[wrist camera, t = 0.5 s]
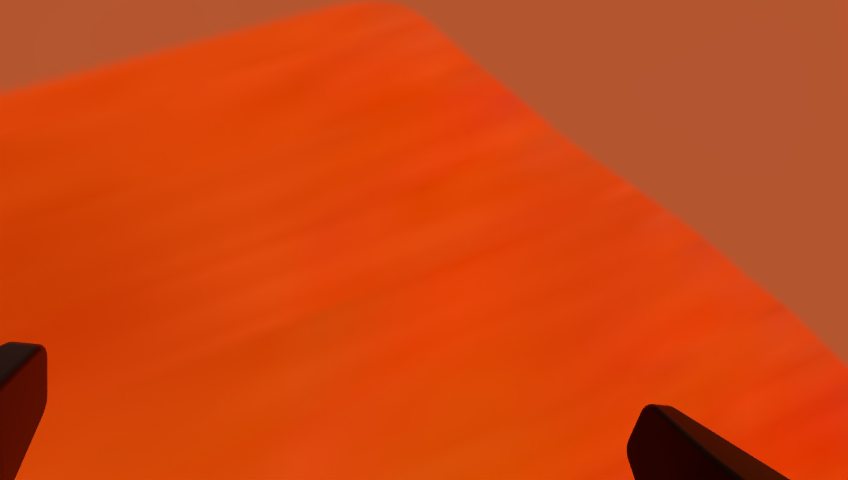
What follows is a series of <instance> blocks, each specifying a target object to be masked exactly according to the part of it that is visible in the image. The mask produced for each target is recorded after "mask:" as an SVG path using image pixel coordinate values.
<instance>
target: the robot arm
mask: <svg viewBox="0 0 848 480" xmlns="http://www.w3.org/2000/svg"><path fill="white" fill-rule="evenodd" d="M46 402H47V352H46V349H45V348H44V347H43V346H42V345H40V344H30V343H20V342H8V343H6V344H3V345H1V346H0V480H14V479H15V477H16V475H17V473H18V470H19V468H20V466H21V463H22V461H23V459H24V457H25V454H26V452H27V450H28V447H29V445H30V443H31V441H32V438H33V436H34V434H35V431H36V429H37V427H38V425H39V422H40V420H41V418H42V415H43V413H44V410H45V406H46ZM627 456H628V460H629V463H630V466H631V469H632V472H633V475H634V478H635V480H790V479H788V478H787V477H785V476H783V475H782V474H780V473H778V472H777V471H775V470H774V469H772V468H770V467H769V466H767V465H766V464H764V463H762V462H761V461H759V460H758V459H756V458H754V457H753V456H751V455H749V454H748V453H746V452H745V451H743V450H741V449H740V448H738V447H737V446H735V445H733V444H732V443H730V442H729V441H727V440H725V439H724V438H722V437H720V436H719V435H717V434H716V433H714V432H712V431H711V430H709V429H708V428H706V427H704V426H703V425H701V424H700V423H698V422H696V421H695V420H693V419H691V418H690V417H688V416H687V415H685V414H683V413H682V412H680V411H679V410H677V409H675V408H674V407H671V406H667V405H656V404H649V405H647V406H645V407H644V408H643V410H642V411H641V413H640V416H639V418H638V420H637V422H636V425H635V427H634V429H633V431H632V434H631V436H630V438H629V440H628V444H627Z"/></svg>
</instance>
